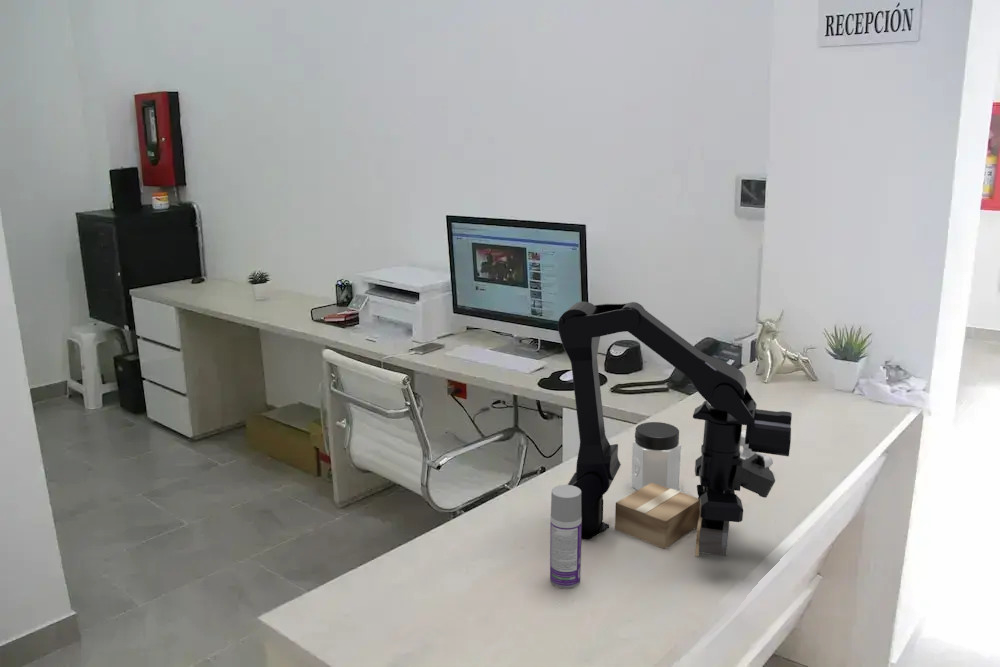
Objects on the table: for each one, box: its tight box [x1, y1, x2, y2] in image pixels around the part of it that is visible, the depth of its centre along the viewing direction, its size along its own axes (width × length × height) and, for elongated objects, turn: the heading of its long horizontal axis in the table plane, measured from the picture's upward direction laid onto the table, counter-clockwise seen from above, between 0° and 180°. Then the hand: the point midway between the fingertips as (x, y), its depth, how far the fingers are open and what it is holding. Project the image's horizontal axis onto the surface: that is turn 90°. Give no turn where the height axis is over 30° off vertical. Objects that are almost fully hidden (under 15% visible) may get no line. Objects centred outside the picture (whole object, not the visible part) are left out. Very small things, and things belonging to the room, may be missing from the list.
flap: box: [694, 515, 730, 557], centre depth 138 cm, size 11×5×5 cm, turn 163°
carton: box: [614, 482, 700, 549], centre depth 144 cm, size 11×10×5 cm
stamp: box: [740, 429, 774, 468], centre depth 165 cm, size 9×7×8 cm
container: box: [549, 484, 582, 590], centre depth 127 cm, size 5×5×15 cm
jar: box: [630, 421, 682, 491], centre depth 158 cm, size 9×8×12 cm
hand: (713, 534), depth 137 cm, fingers closed
